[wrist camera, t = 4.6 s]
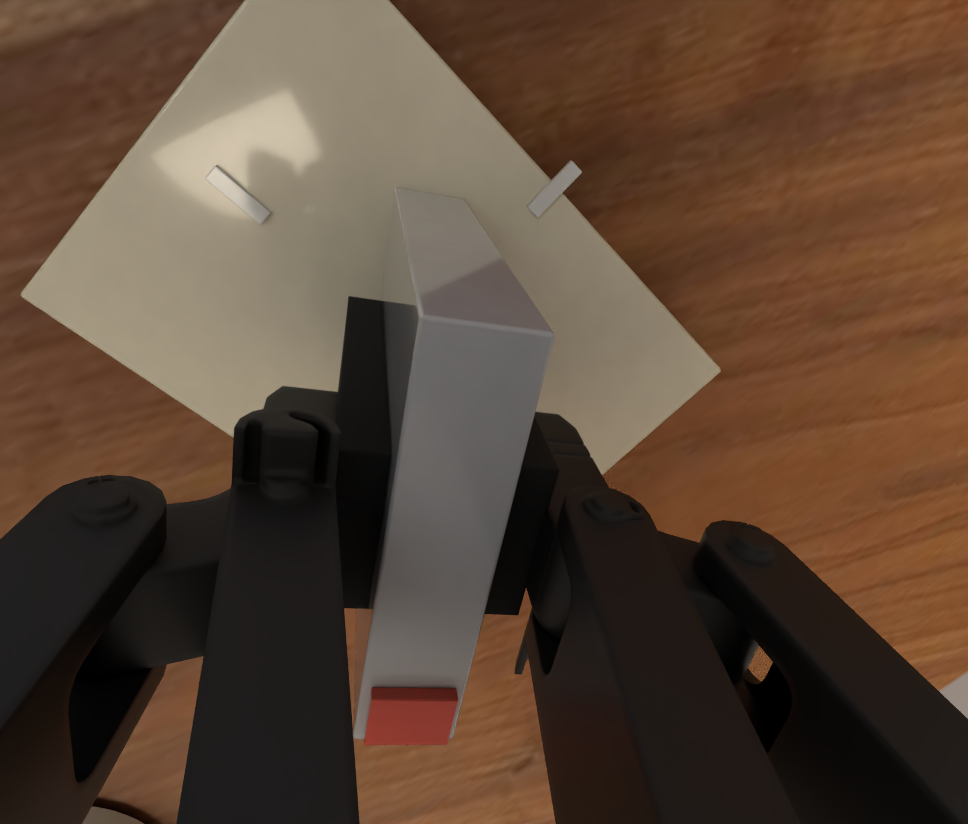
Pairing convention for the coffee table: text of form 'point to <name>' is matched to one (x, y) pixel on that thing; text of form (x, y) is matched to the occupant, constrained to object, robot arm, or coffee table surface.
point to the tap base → (341, 228)
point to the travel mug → (108, 817)
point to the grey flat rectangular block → (443, 463)
